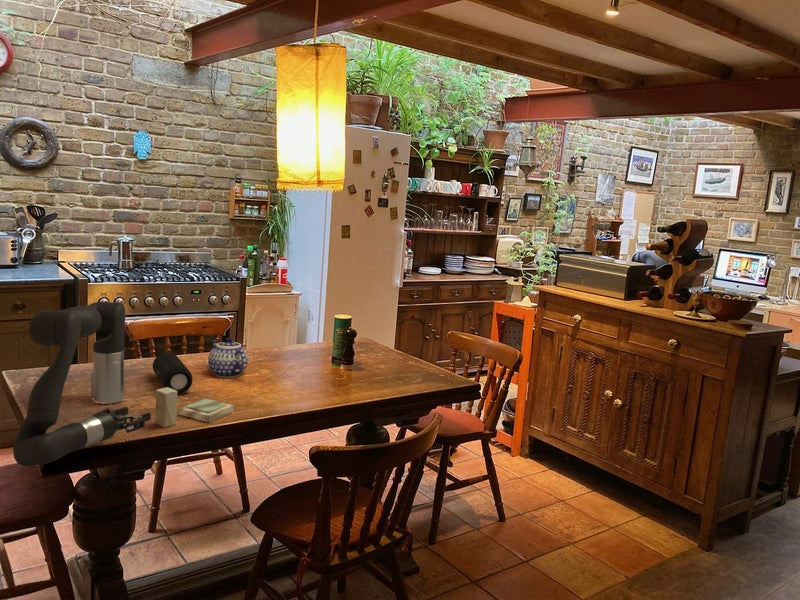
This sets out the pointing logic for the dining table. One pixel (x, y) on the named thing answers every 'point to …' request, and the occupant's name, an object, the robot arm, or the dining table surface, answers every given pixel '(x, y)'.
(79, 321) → the robot arm
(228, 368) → the teapot
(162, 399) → the box
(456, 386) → the dining table surface
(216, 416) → the birch base
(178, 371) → the portable speaker
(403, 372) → the dining table surface
